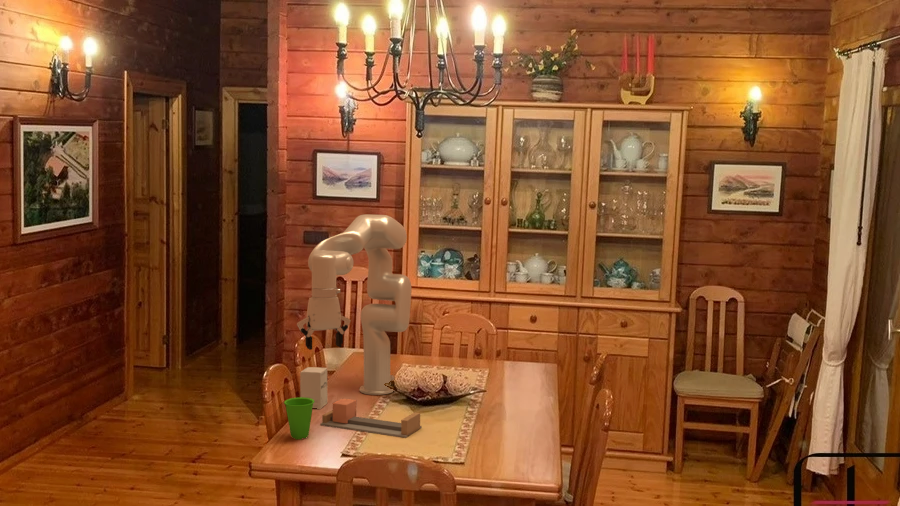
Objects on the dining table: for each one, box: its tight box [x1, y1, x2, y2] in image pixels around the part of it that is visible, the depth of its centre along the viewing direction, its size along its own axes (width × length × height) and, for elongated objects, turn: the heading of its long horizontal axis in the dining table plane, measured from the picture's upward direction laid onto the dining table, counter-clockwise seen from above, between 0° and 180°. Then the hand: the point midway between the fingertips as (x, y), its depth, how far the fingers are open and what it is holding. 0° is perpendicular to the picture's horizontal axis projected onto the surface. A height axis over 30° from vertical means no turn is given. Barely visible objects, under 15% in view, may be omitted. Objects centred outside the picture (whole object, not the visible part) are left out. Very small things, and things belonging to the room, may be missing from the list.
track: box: [320, 409, 422, 439], centre depth 285 cm, size 11×30×5 cm, turn 66°
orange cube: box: [332, 397, 357, 424], centre depth 289 cm, size 6×5×6 cm
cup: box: [283, 396, 315, 440], centre depth 275 cm, size 9×9×11 cm
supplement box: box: [299, 366, 328, 410], centre depth 307 cm, size 7×7×13 cm
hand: (324, 347), depth 285 cm, fingers open, 9 cm apart
